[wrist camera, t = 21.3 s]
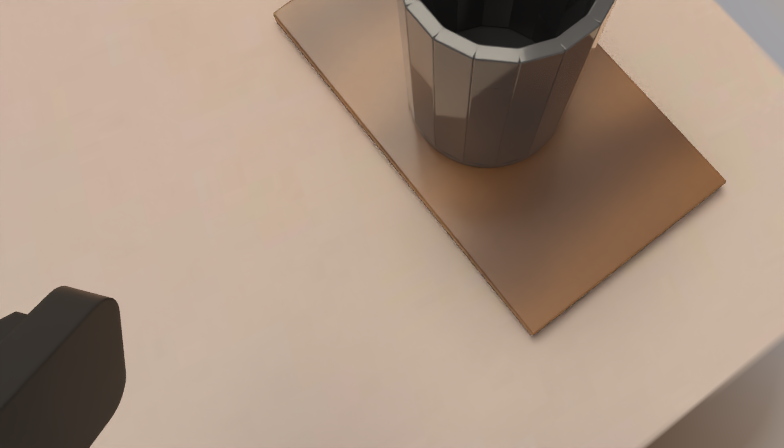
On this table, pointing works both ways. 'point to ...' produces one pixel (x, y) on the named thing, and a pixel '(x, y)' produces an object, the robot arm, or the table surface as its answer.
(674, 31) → the table surface
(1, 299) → the table surface
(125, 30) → the table surface
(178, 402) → the table surface
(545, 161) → the plate
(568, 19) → the open gray tube
